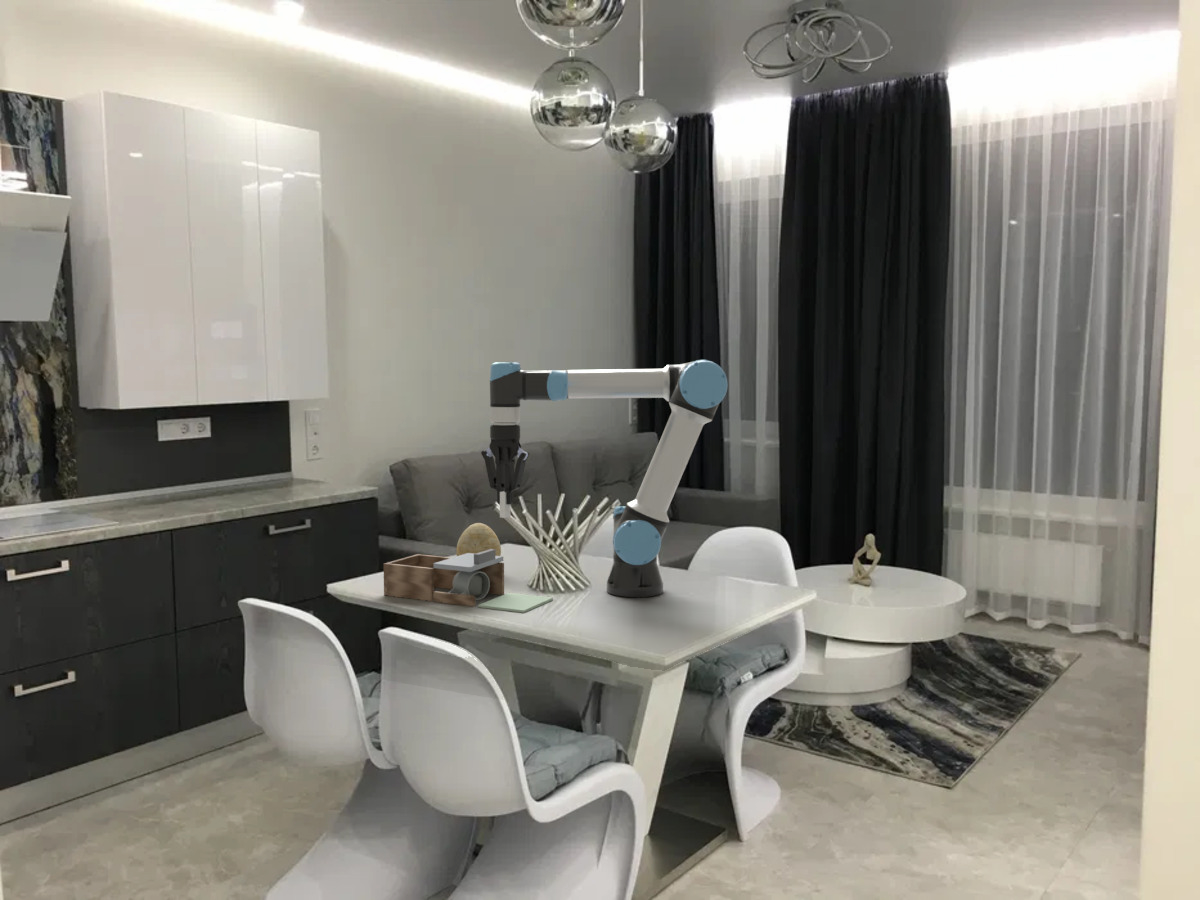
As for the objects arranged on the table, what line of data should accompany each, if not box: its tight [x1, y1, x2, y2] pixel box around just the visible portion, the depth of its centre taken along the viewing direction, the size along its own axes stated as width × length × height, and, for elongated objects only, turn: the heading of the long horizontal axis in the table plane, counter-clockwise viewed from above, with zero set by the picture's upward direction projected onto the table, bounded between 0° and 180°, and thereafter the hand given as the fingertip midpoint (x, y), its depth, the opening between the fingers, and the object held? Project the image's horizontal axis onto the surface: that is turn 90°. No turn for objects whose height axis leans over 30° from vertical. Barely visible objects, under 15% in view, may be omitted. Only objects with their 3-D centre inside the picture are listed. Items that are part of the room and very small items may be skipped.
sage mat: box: [477, 592, 554, 614], centre depth 253 cm, size 13×15×1 cm
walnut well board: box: [383, 553, 505, 607], centre depth 262 cm, size 28×15×8 cm, turn 65°
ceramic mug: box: [447, 571, 490, 601], centre depth 258 cm, size 10×8×7 cm
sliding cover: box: [433, 549, 504, 572], centre depth 258 cm, size 11×16×4 cm
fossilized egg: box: [456, 522, 502, 556], centre depth 287 cm, size 13×13×15 cm
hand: (505, 516), depth 252 cm, fingers closed
